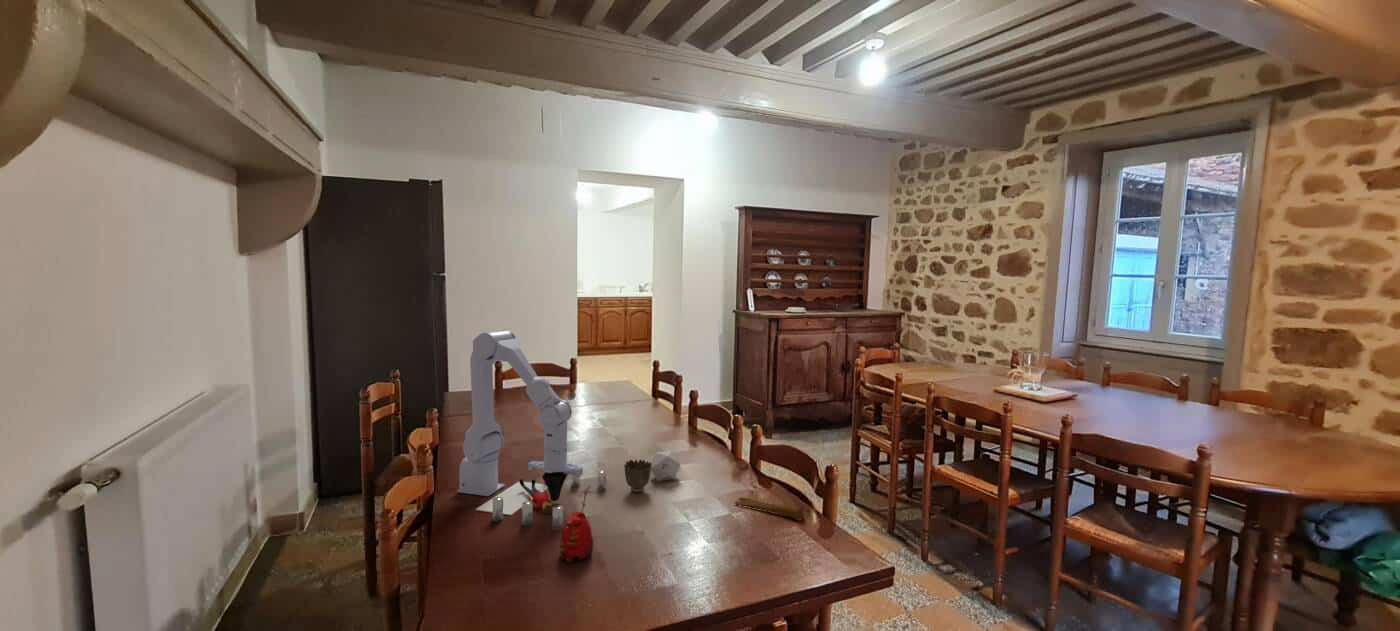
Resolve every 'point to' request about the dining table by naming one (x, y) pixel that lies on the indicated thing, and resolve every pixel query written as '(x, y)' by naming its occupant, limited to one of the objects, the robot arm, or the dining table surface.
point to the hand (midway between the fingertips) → (555, 499)
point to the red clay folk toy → (576, 537)
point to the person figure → (538, 497)
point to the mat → (512, 498)
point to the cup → (637, 475)
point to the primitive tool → (772, 508)
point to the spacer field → (557, 510)
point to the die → (665, 465)
